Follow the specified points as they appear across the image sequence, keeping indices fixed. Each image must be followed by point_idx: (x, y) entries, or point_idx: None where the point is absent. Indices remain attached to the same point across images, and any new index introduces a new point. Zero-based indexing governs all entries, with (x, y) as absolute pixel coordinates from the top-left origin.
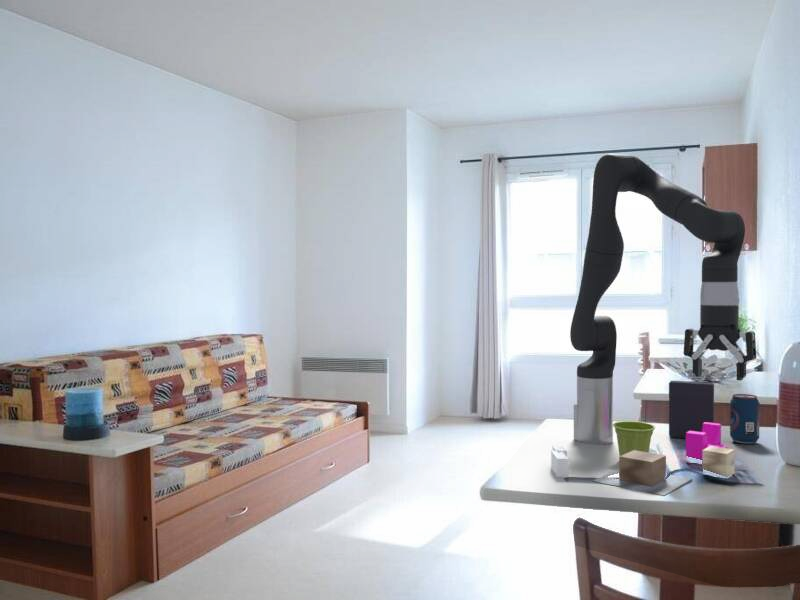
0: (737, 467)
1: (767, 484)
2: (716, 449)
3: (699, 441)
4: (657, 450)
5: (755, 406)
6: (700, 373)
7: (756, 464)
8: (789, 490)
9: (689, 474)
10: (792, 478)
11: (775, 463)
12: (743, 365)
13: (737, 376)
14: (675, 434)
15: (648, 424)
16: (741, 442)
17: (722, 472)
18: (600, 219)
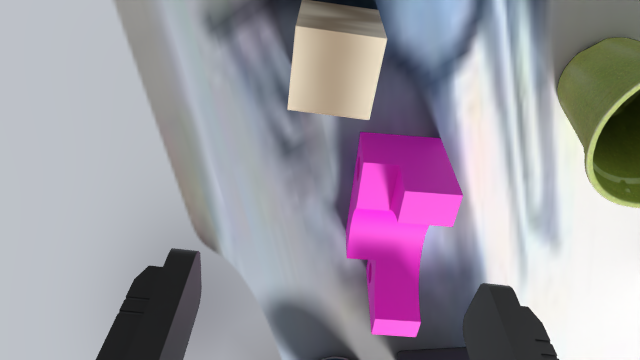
0: (306, 170)
1: (195, 38)
2: (342, 76)
3: (412, 177)
4: (523, 230)
5: None
6: (475, 325)
7: (272, 217)
8: (125, 5)
9: (419, 23)
10: (163, 136)
11: (237, 244)
12: (103, 357)
13: (184, 267)
14: None
15: (608, 192)
16: (338, 357)
17: (314, 8)
18: None
